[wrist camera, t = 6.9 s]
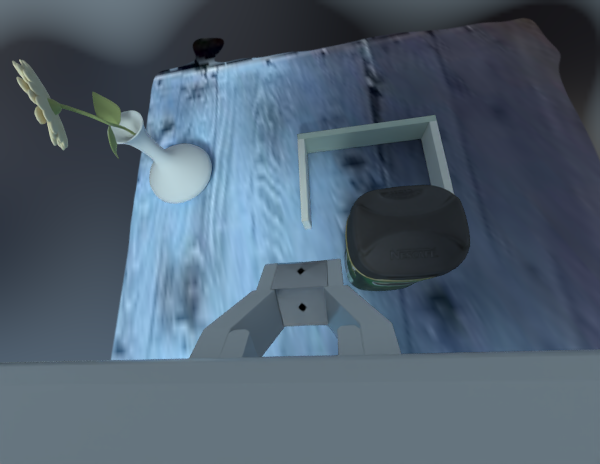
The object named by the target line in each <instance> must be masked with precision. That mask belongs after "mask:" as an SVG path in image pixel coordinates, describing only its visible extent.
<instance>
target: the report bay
mask: <svg viewBox="0 0 600 464" xmlns="http://www.w3.org/2000/svg"><path fill="white" fill-rule="evenodd" d="M297 136H298V157H299V178H300V199H301V219H302V223H303V225H304V227H305V229H312V225H311V208H310V191H309V175H308V158H307V153H314V152H322V151H330V150H338V149H345V148H353V147H361V146H369V145H377V144H384V143H392V142H400V141H408V140H416V139H421V140H422V145H423V150H424V155H425V159H426V164H427V169H428V174H429V178H430V183H431V185H433V186H438V187H441V188H444V189H446V190H448V191H450V192H451V193H453V194H454V192H453V188H452V183H451V179H450V175H449V171H448V166H447V162H446V158H445V154H444V150H443V145H442V141H441V137H440V133H439V129H438V124H437V120H436V116H435V115H432V116H424V117H417V118H410V119H403V120H396V121H389V122H381V123H374V124H367V125H360V126H353V127H345V128H338V129H331V130H324V131H317V132H310V133H302V134H297Z"/></svg>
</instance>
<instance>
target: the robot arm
mask: <svg viewBox="0 0 600 464" xmlns="http://www.w3.org/2000/svg"><path fill="white" fill-rule="evenodd" d="M302 325H328V326H329V327H330V329H331V330H332V332H333V333H334V334H335V336H336V337H337V339H338V355H326V356H281V357H262V356H263V354H264V353H265V352H266V351H267V349H268V348H269V347H270V345H271V344H272V343H273V341H274V340H275V339H276V338H277V336H278V335H279V334H280V332H281V331H282V330H283V328H284V327H287V326H302ZM0 464H600V349H599V350H553V351H508V352H463V353H422V354H401V351H400V348H399V345H398V342H397V338H396V335H395V332H394V328H393V325H392V323H391V322H390V321H389V320H388V319H387V318H385V317H384V316H383V315H382V314H381V313H380V312H378V311H377V310H376V309H375V308H374V307H372V306H371V305H370V304H369V303H368V302H367V301H365V300H364V299H363V298H362V297H361V296H359V295H358V294H357V293H356V292H355V291H354V290H352V289H351V288H350V287H349V286H348V285H343V276H342V267H341V259H330V260H322V261H311V262H291V263H273V264H266V265H265V266H264V269H263V272H262V275H261V278H260V281H259V284H258V287H257V290H256V291H252V292H250V293H249V294H248V295H247V296H245V297H244V298H243V299H242V300H240V301H239V302H238V303H237V304H235V305H234V306H233V307H232V308H230V309H229V310H228V311H227V312H225V313H224V314H223V315H221V316H220V317H219V318H218V319H216V320H215V321H214V322H213V323H211V324H210V325H209V326H208V327H206V328H205V329H204V330H203V332H202V334H201V336H200V338H199V340H198V342H197V344H196V346H195V348H194V350H193V352H192V354H191V356H190V358H189V359H148V360H105V361H103V360H102V361H58V362H57V361H56V362H9V363H0Z"/></svg>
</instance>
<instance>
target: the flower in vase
mask: <svg viewBox="0 0 600 464" xmlns="http://www.w3.org/2000/svg"><path fill="white" fill-rule="evenodd" d="M19 61H20V63H21V65H22V66H21V65H19V64H17V63H16V62H15V61H12V62H13V65H14V67H15V68H16V70H17V71H18V72H19V74H20V75H21V77H22V78H23V79H24V80H23V79H21V78H20V77H17V81H18V83H19V85H20V86H21V88H22V89H23V90H24V91H25V92H26V93H27V94H28V95H29V97H30V99H31V100H32V101H33V102H34V103H35V104H36V105H38V106H37V107H36V109H35V116H36V118H37V120H38V121H39V122H40V123H41V124H44V123H45V122H46V120H47V125H48V130H49V134H50V138H51V141H52V143H53V144H54V145H55V146H56V145H57V143H58V145H59V147H61V148H62V149H63V150H65V148H66V147H68V140H67V137H66V133H65V130H64V127H63V125H62V122H61V120H60V118H59V116H58V114H59V113H60V112H61V108H64V109H67V110H70V111H74V112H77V113H80V114H83V115H86V116H89V117H91V118H94V119H96V120H99V121H101V122H103V123H106V124H108V125H109V127H108V137H109V142H110V145H111V148H112V150H113V152H114V153H115V155H116V156H117V154H116V153H117V151H116V150H117V144H128V145H131V146H133V147H135V148H137V149H139V150H141V151H142V152H144V153H145V154H147V155H148V156H149V157H150V158H152V159H153V161H154V162H153V164H152V166H151V170H150V176H149V180H150V185H151V188H152V190H153V192H154V193H155V195H156V196H157V197H158V198H159V199H161V200H162V201H164V202H167V203H182V202H186V201H189V200H191V199H193V198H195V197H196V196H197V195H199V194H200V193H201V192H202V191H203V190H204V188H205V187H206V186H207V184H208V182H209V180H210V176H211V171H212V164H211V160H210V157H209V155H208V154H207V153H206V152H205V150H203V149H202V148H200V147H198V146H196V145H193V144H186V143H185V144H178V145H174V146H171V147H168V148H167V149H163V148H162V147H161V146H159V145H158V144H157V143H156V142H155V141H154V140H153V139H152V138H151V137H150V135H149V134H148V133H147V131H146V130H145V128H144V125H143V118H142V117H141V115H140V114H139V113H138V112H136V111H125V112H122V113H121V111H120V108H119V107H118V106H117V105H116V104H115V103H113V102H111V101H110V100H108V99H106V98H105V97H103V96H101V95H99V94H97V93H95V92H92V94H93V102H94V108H95V112H96V115H97V117H96V116H95V115H92V114H89V113H87V112H84V111H81V110H78V109H75V108H72V107H69V106H66V105H62V104H59V103H58V102H56V101H54V100H52V99H50V97H49V95H48V93H47V91H46V89H45V88H44V86H43V85H42V83H41V82H40V80H39V78H38V77H37V76H36V74H35V73H34V71H33V70H32V68H31V67H30V66H29V65H28V64H27V63H26V62H25V61H22V60H19ZM117 157H118V156H117Z"/></svg>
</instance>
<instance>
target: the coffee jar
mask: <svg viewBox="0 0 600 464" xmlns="http://www.w3.org/2000/svg"><path fill="white" fill-rule="evenodd" d="M345 236H346V252H345V267H346V273H347V277H348V279H349V281H350V282H351V284H352V285H353V286H355V287H356V288H358V289H361V290H369V291H387V290H396V289H401V288H405V287H408V286H410V285H412V284H414V283H416V282H418V281H422V280H426V279H430V278H433V277H438V276H441V275H444V274H446V273H448V272H450V271H452V270H453V269H455V268H456V267H458V266H459V265H460V264H461V263H462V262H463V260H464V259H465V258H466V256H467V253H468V251H469V247H470V235H469V228H468V223H467V219H466V215H465V212H464V209H463V206H462V203H461V201H460V199H459V198H458V197H456V196H455V195H454V194H453V193H451V192H450V191H448V190H446V189H444V188H441V187H438V186H433V185H415V186H400V187H392V188H385V189H379V190H374V191H370V192H367V193H365V194H364V195H362V196H361V197H359V198H358V199H357V200H356V202H355V203H354V205H353V207H352V209H351V212H350V215H349V217H348V219H347V223H346V234H345Z"/></svg>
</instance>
